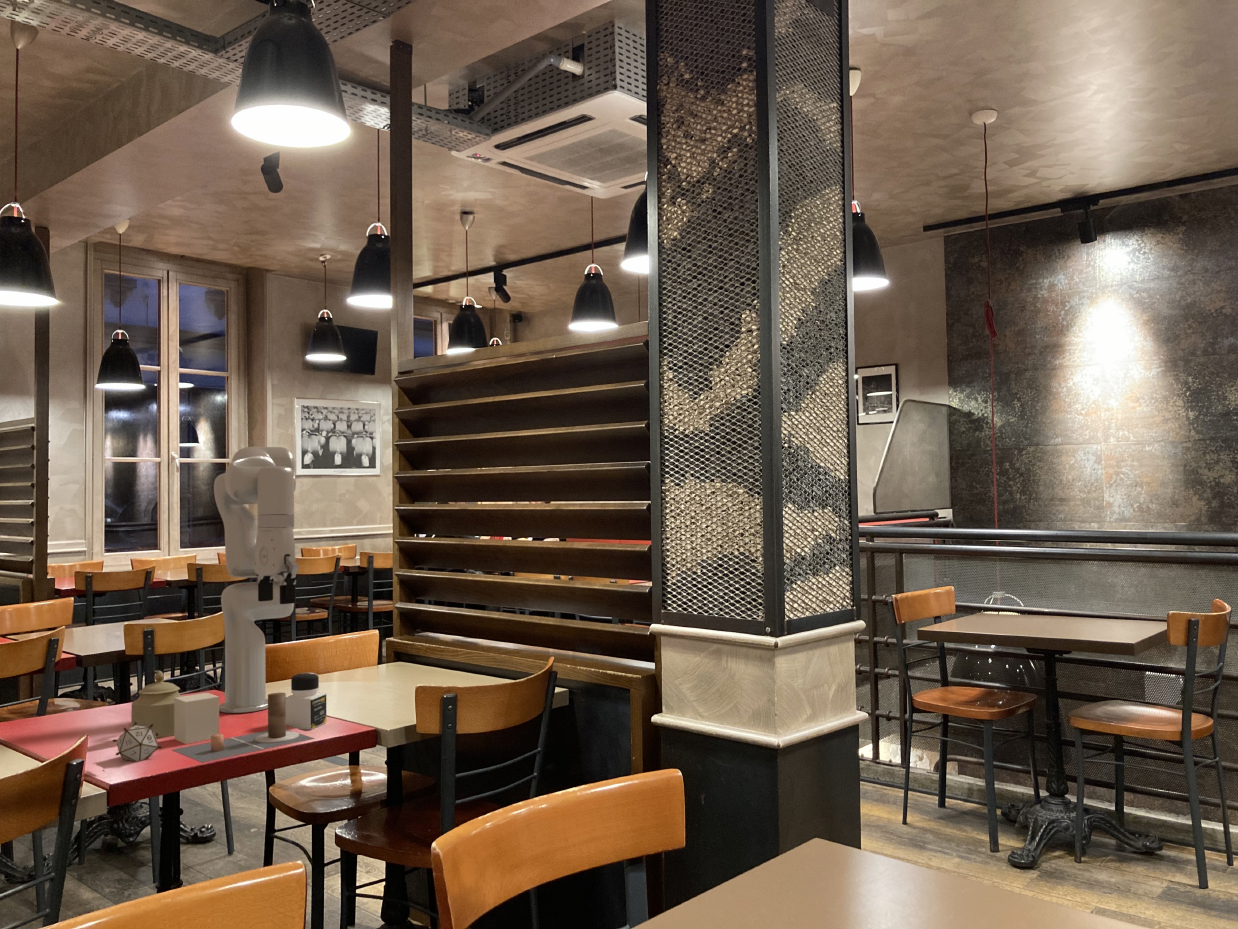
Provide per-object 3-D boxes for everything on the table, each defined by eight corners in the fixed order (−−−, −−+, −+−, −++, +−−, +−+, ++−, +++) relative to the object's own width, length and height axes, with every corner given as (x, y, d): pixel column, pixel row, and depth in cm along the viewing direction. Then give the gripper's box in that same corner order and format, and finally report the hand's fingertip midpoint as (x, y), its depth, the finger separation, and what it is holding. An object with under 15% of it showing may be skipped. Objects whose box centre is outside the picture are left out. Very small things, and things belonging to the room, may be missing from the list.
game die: (131, 781, 191) (127, 735, 196) (172, 764, 192) (167, 719, 197) (105, 770, 183) (102, 723, 189) (148, 753, 184) (143, 706, 190)
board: (171, 755, 196) (171, 735, 196) (281, 733, 213) (280, 714, 214) (202, 768, 186) (202, 747, 186) (315, 744, 203) (314, 724, 203)
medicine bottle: (311, 730, 216) (311, 677, 216) (282, 729, 217) (282, 676, 218) (327, 723, 223) (326, 671, 223) (299, 722, 224) (299, 671, 225)
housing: (174, 744, 205) (185, 749, 201) (174, 697, 206) (185, 702, 201) (207, 738, 210) (219, 743, 205) (207, 692, 211) (219, 696, 206)
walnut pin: (265, 736, 204) (264, 694, 205) (280, 733, 207) (280, 691, 207) (273, 739, 202) (272, 696, 202) (288, 736, 204) (288, 694, 205)
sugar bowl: (111, 739, 211) (111, 671, 212) (157, 728, 221) (157, 663, 221) (150, 747, 203) (150, 676, 204) (196, 735, 213) (196, 668, 213)
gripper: (240, 523, 209) (241, 601, 209) (278, 523, 197) (279, 606, 197) (273, 522, 215) (273, 598, 214) (312, 522, 203) (312, 603, 202)
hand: (276, 602), depth 205 cm, fingers open, 9 cm apart
